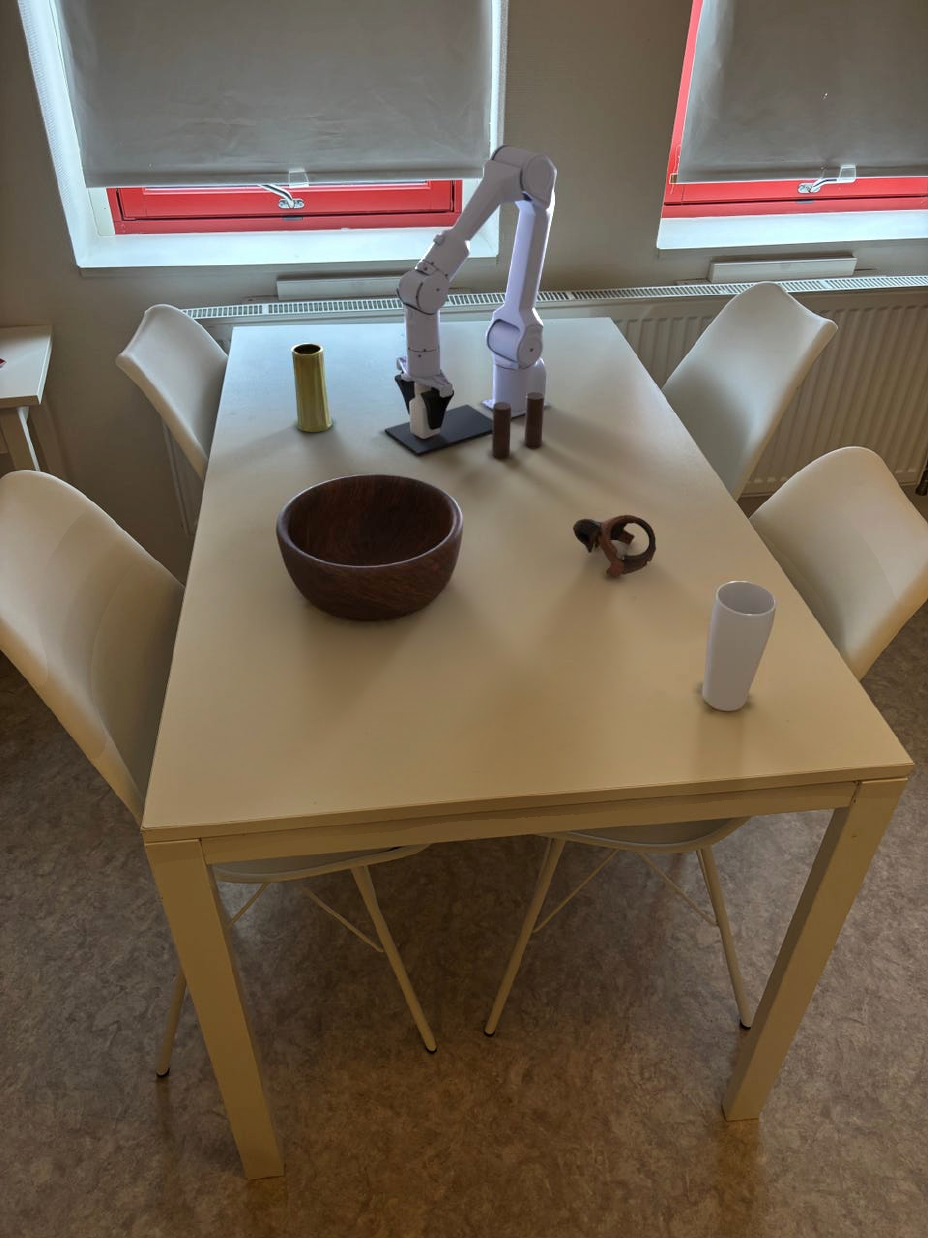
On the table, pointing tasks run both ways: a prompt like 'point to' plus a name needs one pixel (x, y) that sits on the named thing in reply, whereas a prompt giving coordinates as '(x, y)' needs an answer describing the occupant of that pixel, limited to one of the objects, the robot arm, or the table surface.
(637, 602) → the table surface
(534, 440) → the walnut dowel
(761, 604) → the drinking glass
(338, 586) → the wooden bowl
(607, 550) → the brown curled ring figurine
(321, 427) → the vase
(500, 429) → the walnut dowel
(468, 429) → the mat
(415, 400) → the pepper shaker
